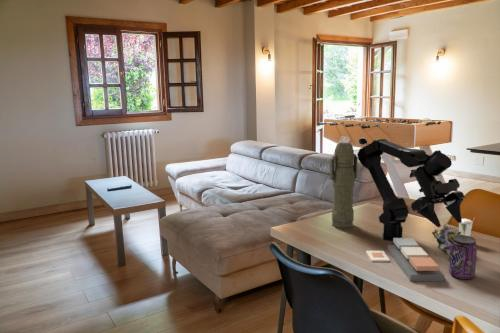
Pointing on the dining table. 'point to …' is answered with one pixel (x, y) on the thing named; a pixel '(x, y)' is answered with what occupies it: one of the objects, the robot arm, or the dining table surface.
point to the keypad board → (410, 270)
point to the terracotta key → (423, 264)
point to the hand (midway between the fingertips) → (450, 224)
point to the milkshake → (465, 226)
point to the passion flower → (446, 237)
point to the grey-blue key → (404, 242)
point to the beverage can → (463, 257)
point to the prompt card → (378, 256)
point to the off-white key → (413, 252)
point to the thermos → (343, 185)
